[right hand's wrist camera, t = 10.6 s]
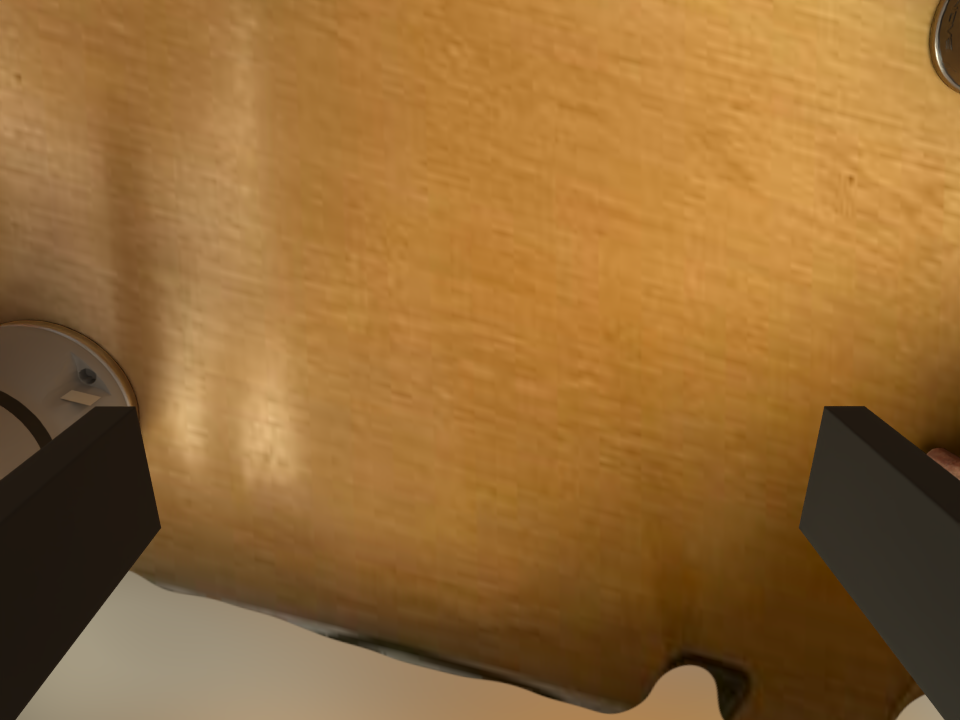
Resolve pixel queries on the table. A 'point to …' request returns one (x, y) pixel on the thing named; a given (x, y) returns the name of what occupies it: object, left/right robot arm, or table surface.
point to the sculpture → (946, 460)
